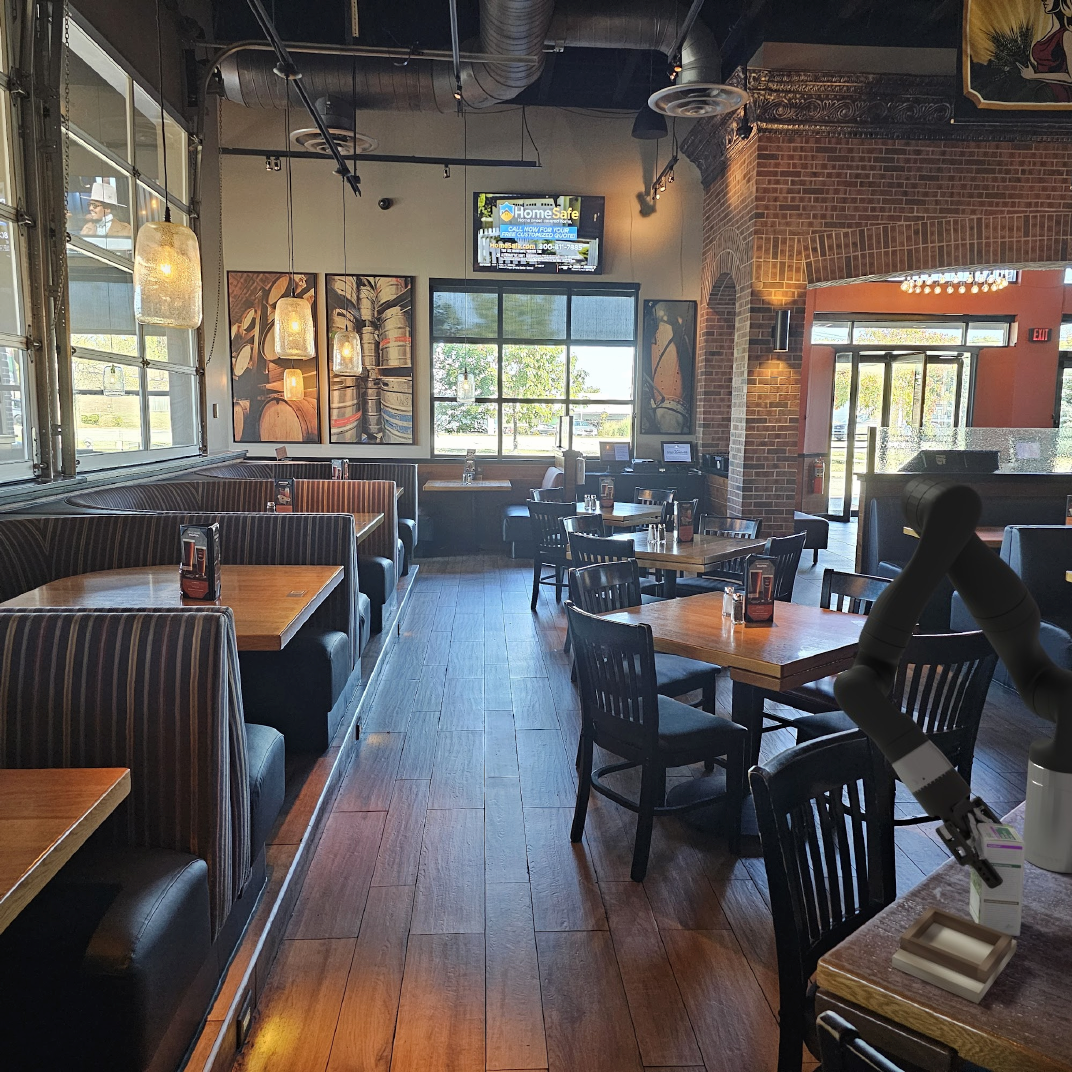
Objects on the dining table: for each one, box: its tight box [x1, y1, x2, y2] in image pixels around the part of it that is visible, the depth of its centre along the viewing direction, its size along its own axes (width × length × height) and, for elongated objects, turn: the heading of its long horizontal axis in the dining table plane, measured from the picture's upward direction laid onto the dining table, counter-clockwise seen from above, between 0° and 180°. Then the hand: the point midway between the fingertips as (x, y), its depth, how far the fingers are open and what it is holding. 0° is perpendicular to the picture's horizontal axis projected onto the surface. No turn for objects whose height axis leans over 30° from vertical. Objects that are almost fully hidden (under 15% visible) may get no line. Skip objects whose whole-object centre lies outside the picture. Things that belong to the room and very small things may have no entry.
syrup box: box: [968, 823, 1025, 937], centre depth 127 cm, size 6×6×14 cm
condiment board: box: [891, 905, 1018, 1005], centre depth 119 cm, size 16×11×3 cm
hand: (1006, 875), depth 126 cm, fingers closed on syrup box, 8 cm apart
